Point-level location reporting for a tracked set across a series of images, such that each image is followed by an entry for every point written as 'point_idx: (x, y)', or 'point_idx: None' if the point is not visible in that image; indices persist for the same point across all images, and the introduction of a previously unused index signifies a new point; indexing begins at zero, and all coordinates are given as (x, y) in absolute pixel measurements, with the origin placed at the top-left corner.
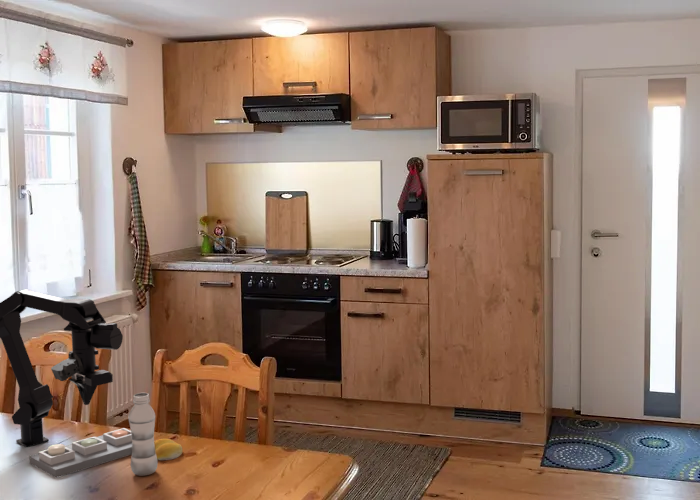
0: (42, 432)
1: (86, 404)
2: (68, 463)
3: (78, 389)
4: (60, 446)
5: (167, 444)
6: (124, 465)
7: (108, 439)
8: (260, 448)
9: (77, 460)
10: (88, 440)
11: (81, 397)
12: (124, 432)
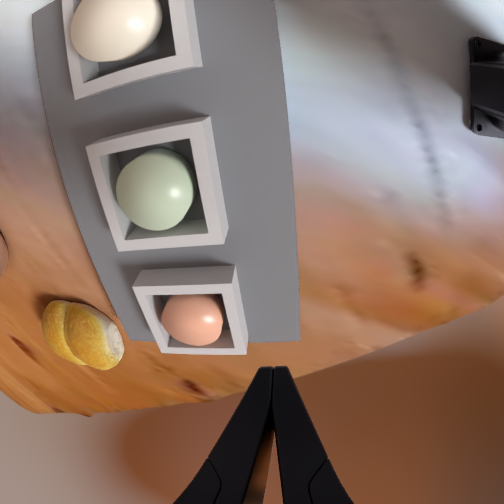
0: (493, 110)
1: (260, 373)
2: (55, 61)
3: (339, 490)
4: (100, 39)
5: (52, 345)
6: (46, 227)
7: (189, 275)
8: (71, 405)
9: (64, 98)
10: (168, 198)
11: (306, 415)
12: (184, 335)
